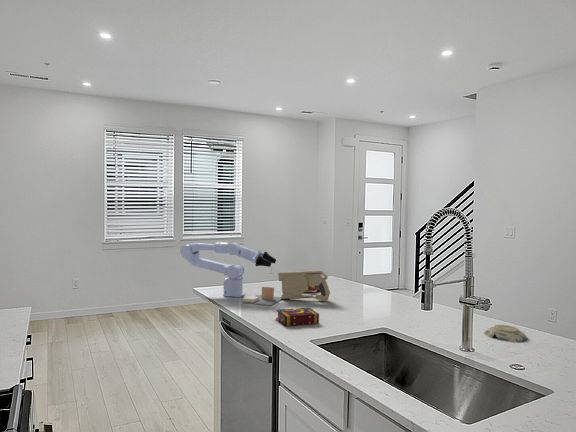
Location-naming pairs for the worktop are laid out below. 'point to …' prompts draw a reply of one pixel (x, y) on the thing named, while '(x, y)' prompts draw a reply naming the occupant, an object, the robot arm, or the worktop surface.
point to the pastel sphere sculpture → (312, 289)
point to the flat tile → (250, 299)
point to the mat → (265, 301)
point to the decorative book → (297, 316)
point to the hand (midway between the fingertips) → (273, 263)
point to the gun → (303, 284)
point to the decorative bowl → (506, 333)
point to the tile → (267, 292)
